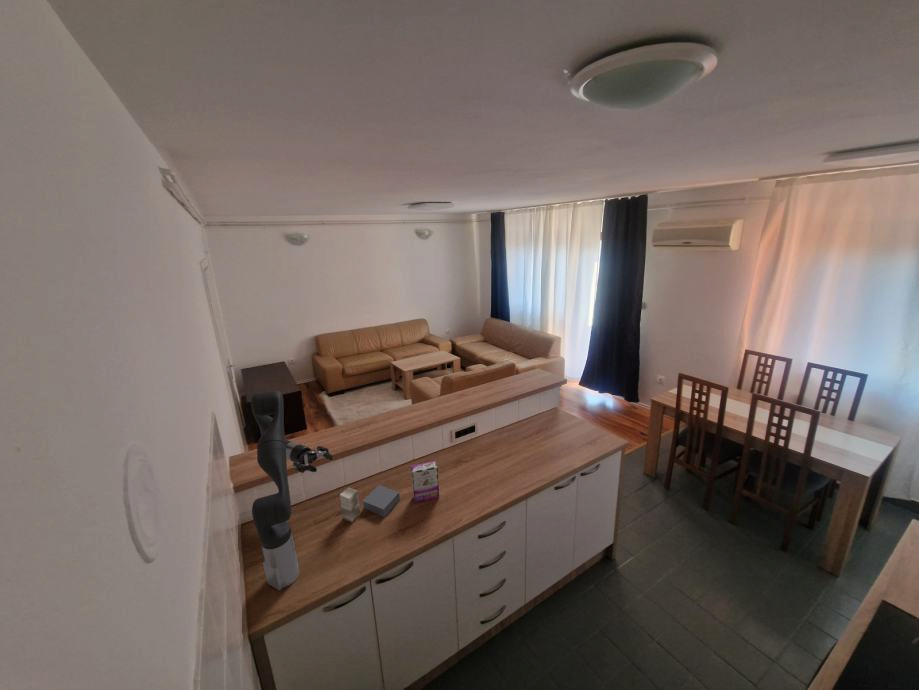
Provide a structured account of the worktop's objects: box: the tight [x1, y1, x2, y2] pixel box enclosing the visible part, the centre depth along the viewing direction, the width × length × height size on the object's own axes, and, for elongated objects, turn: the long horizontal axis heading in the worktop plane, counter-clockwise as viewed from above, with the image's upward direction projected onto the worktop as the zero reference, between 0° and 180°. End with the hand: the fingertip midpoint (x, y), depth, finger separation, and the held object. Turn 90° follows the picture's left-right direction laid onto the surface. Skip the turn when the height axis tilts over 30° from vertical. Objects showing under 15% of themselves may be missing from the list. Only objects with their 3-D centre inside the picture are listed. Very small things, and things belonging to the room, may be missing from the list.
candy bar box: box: [410, 460, 440, 504], centre depth 159 cm, size 11×5×16 cm, turn 105°
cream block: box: [339, 487, 361, 523], centre depth 149 cm, size 5×5×12 cm
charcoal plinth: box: [362, 484, 401, 518], centre depth 157 cm, size 11×11×4 cm
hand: (324, 463), depth 149 cm, fingers open, 8 cm apart
